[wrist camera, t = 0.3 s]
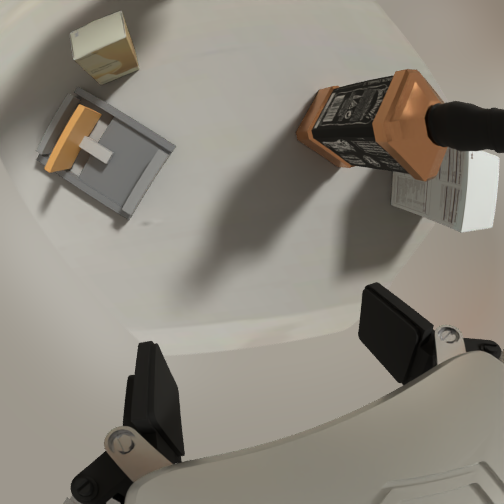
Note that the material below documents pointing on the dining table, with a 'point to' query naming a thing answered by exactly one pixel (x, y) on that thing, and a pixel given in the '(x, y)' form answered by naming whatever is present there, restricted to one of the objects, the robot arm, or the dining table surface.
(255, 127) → the dining table surface
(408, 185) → the supplement box
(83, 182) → the grey shallow rectangular tray
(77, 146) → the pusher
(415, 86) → the whiskey bottle
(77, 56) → the skincare box
